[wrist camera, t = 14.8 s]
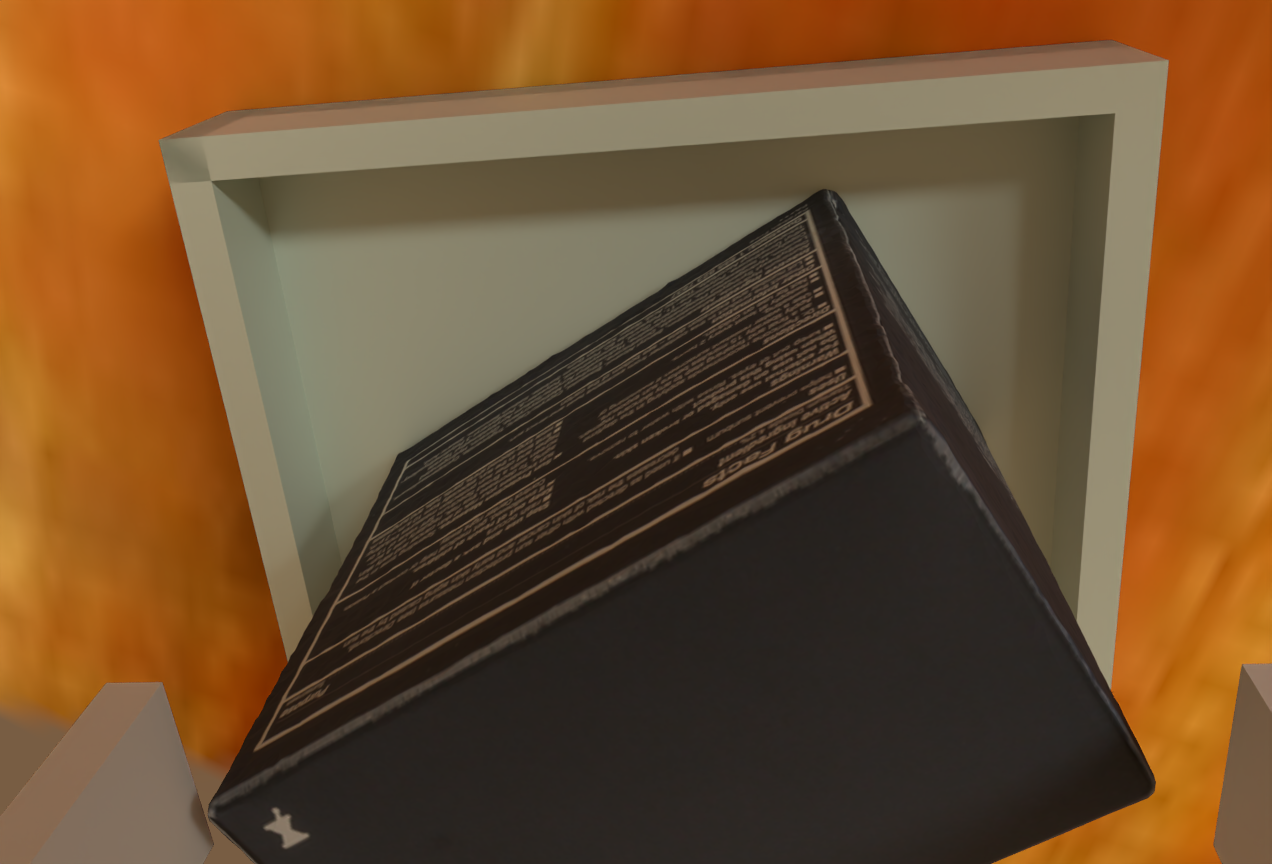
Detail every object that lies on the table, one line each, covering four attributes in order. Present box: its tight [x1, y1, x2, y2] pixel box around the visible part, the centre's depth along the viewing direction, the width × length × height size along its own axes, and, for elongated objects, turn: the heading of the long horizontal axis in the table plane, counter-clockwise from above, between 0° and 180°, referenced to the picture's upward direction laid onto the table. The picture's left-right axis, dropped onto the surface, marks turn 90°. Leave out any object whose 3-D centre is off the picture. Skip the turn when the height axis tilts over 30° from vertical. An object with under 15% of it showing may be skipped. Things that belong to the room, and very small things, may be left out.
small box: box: [208, 189, 1156, 864], centre depth 19 cm, size 11×6×10 cm, turn 124°
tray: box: [159, 40, 1169, 690], centre depth 23 cm, size 14×16×3 cm
